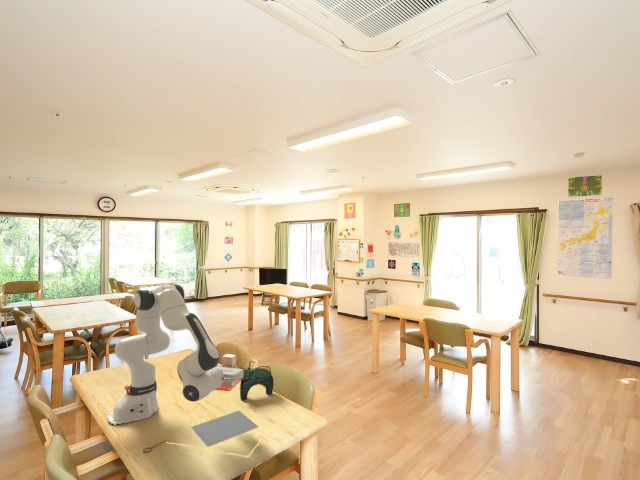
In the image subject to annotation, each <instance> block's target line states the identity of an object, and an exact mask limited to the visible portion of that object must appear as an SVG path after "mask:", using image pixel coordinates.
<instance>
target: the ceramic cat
mask: <svg viewBox="0 0 640 480" xmlns="http://www.w3.org/2000/svg"><path fill="white" fill-rule="evenodd" d="M251 363H254V364H256V361H252V360H251V361H250V362H249V363H248V365H250V364H251ZM239 369H243V371H244V375H243V378H241V379H240V387H239V390H240V391H239V398H240V401H246V400H247V399H248V394H249V391H250V390H251V388H252V387H255V386H256V385H257V386H258V385H263V386H264V387H265V394H266V396H270V395H273V392H274V391H273V390H274V377H273V375H272V373H271V372H272V370H271V368H270V367H269V366H268V365H261V366H257V367H254V368H251V367H250V366H248V367H247V366H241V367H239Z"/></svg>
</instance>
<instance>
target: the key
mask: <svg viewBox="0 0 640 480" xmlns="http://www.w3.org/2000/svg"><path fill="white" fill-rule="evenodd" d="M166 441H167V440H163V441H161V442H159V443H157V444H154V445H153V446H151V447H148V449H150V450H144V449H142V452H143V453H144V452H145V454H146V453H147V452H148V453H150V452H152V450H153V449H154V448H156V447H158V445H159V446H161V445H162V443H163V444H165V443H166ZM164 442H165V443H164ZM160 444H161V445H160ZM155 446H156V447H155Z"/></svg>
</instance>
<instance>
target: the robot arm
mask: <svg viewBox="0 0 640 480" xmlns="http://www.w3.org/2000/svg"><path fill="white" fill-rule="evenodd" d="M133 296H134V297H133V301H134V306H135V308H136V316H135V321H134V326H135V328H136V329H137V330H138V331H140V332H142V334H136V335H132V336H127V337H124V338H122V339H119V340H118V341H117V343H116V344H115V347H114V354H115V357H116V358H117V359H118V360H121V361H123V363H125V364H126V365H127V366H128V368H129V372H130V380H131V381H130V382H131V384H130V385H128V384H125V385H124V387H123V388H124V389H125V391H126V393H125V394H124V395H123V396H122V397H121V398H120V399H118V400H117V401H116V402H115V404H114V406H113V411H111V412H110V413H109V414H108V415H107V421H109V422H110V423H111V424H110V423H109V422H108V423H109V424H110V425H112V424H113V426H118V425H117V424H119V425H123V424H122V423H124V424H126V423H127V424H128V423H132V421H133V422H137V421H142V420H145V419H150V418H151V417H152V415H153V414H155V413H156V412H157V411H159V409H160V405H159V402H158V398H157V390H158V389H157V387H158V386H157V384H158V383H157V379H156V377H157V376H156V375H157V374H156V366H155V364H154V363H152V362H149V361H146V360H145V357H146V356H151V355H155V354H158V353H159V354H160V353H161V352H163V351H166V350H168V348H169V346H170V344H171V338H170V335H169V334H168V333H167V332H166V331H164V330H163V329H162V328H161V321H162V323H163V326H164V327H165V328H166V329H167V330H170V331H174V332H175V331H176V332H178V331H180V332H181V331H186V330H188V331H189V332H190V334H191V336H192V338H193V340H194V342H195V344H196V345H197V347H196V348H197V349H196V350H195V351H194V352H193V351H192V353H190V354H189V355H187V356H185V357H184V358H182V359H181V360H179V362H178V364H177V368H176V369H177V370H176V371H177V375H178V377H179V379H180V381H181V382H182V396H183V397H184V399H185V400H187V401H189V402H198V401H201V400H202V399H205V398H207V396H208V395H210V394H211V393H212V392H213V391H216V390H215V389H217V388H218V387H219V386H221V385H222V384H223V382H224V381H226V382H237V381H238V380H240V379H241V378H243V375H244V371H243V369H240V368H238V365H236V366H233V368H229V367H222V364H221V365H219V363H220V359H221V358H220V357H221V356H220V355H221V353H220V351H219V349H218V348H217V347H216V345H215V344H214V343H213V342H212V340H211V338H210V336H209V334H208V332H207V331H206V329H205V327H204V325H203V323H202V322H201V320H200V319H199V317H198V316H197V315H196V314H195V313H192V312H190V311H189V309H188V307H187V304H186V302H185V290H184V288H183V287H182V285H179V284H174V283H172V284H160V285H154V286H150V287H142V288H139V289H137V290H136V292H135V293H134V295H133ZM240 381H241V380H240ZM221 387H222V386H221ZM219 388H220V387H219Z"/></svg>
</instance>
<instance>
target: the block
mask: <svg viewBox="0 0 640 480" xmlns="http://www.w3.org/2000/svg"><path fill="white" fill-rule="evenodd" d="M221 365H222V367H229V368H233V366H237V354H231V353H226V354H224V355H223V356H221ZM236 382H237V381H236ZM236 382H226V381H224V382H223V384H222V386H221V387H223V388H225V387H226V388H228V387H229V389H230V388H232V387H233V386H234V385H235V386H236V385H237V384H236ZM235 386H234V387H235ZM234 387H233V388H234ZM233 388H232V389H233Z"/></svg>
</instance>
